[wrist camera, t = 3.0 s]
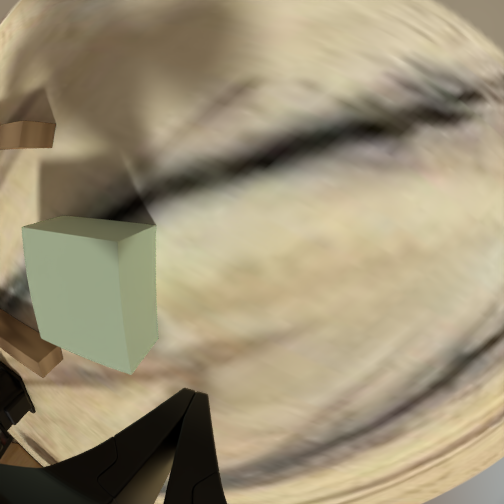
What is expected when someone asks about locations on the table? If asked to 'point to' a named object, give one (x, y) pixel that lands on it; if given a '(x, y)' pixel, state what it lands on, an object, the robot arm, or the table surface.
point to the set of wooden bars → (3, 325)
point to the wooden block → (18, 457)
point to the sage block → (94, 287)
